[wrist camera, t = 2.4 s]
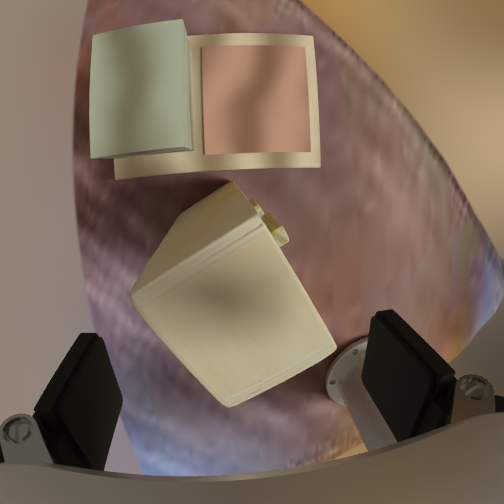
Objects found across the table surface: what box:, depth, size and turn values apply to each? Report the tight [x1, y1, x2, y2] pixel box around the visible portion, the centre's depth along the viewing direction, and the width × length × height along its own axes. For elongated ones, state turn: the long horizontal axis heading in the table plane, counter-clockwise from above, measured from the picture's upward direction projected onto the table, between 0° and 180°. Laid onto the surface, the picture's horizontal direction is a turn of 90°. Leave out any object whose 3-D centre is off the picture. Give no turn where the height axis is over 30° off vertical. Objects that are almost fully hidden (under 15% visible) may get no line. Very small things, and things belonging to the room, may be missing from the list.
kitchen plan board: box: [89, 19, 320, 180], centre depth 24 cm, size 20×14×11 cm
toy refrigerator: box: [129, 181, 337, 407], centre depth 23 cm, size 8×7×21 cm
